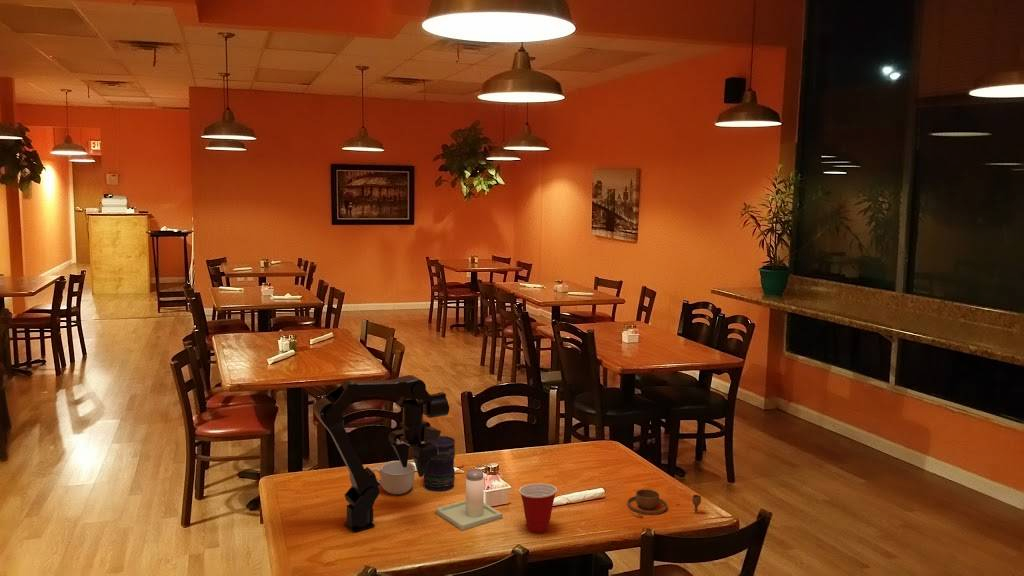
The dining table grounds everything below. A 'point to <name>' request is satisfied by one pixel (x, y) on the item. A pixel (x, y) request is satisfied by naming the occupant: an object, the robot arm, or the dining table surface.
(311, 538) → the dining table surface
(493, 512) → the tray
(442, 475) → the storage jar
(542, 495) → the plastic cup
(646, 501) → the place setting
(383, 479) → the teacup
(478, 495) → the salt shaker
